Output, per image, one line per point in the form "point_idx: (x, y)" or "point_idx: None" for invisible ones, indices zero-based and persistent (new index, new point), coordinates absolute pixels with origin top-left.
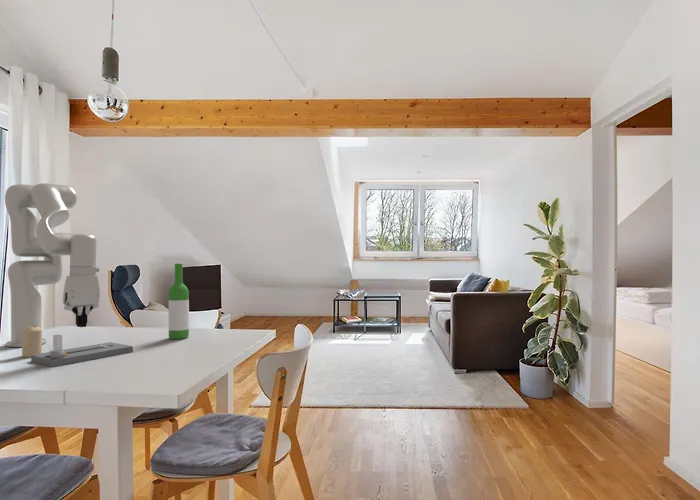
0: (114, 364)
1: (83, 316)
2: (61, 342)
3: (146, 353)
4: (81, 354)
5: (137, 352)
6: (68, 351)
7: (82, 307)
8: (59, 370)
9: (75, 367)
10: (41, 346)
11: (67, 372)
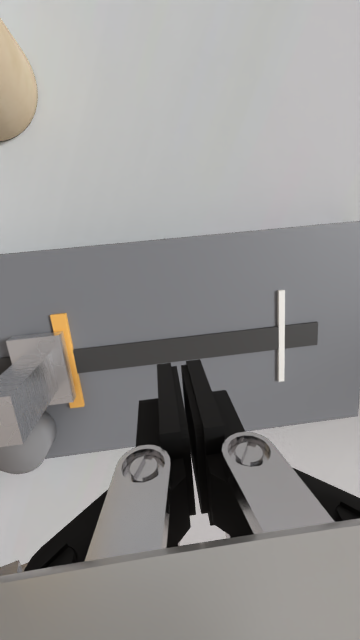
0: (186, 542)
1: (192, 508)
2: (38, 414)
3: (350, 460)
4: (130, 432)
5: (345, 420)
6: (113, 316)
7: (256, 525)
8: (21, 509)
9: (77, 502)
10: (9, 97)
11: (35, 550)
